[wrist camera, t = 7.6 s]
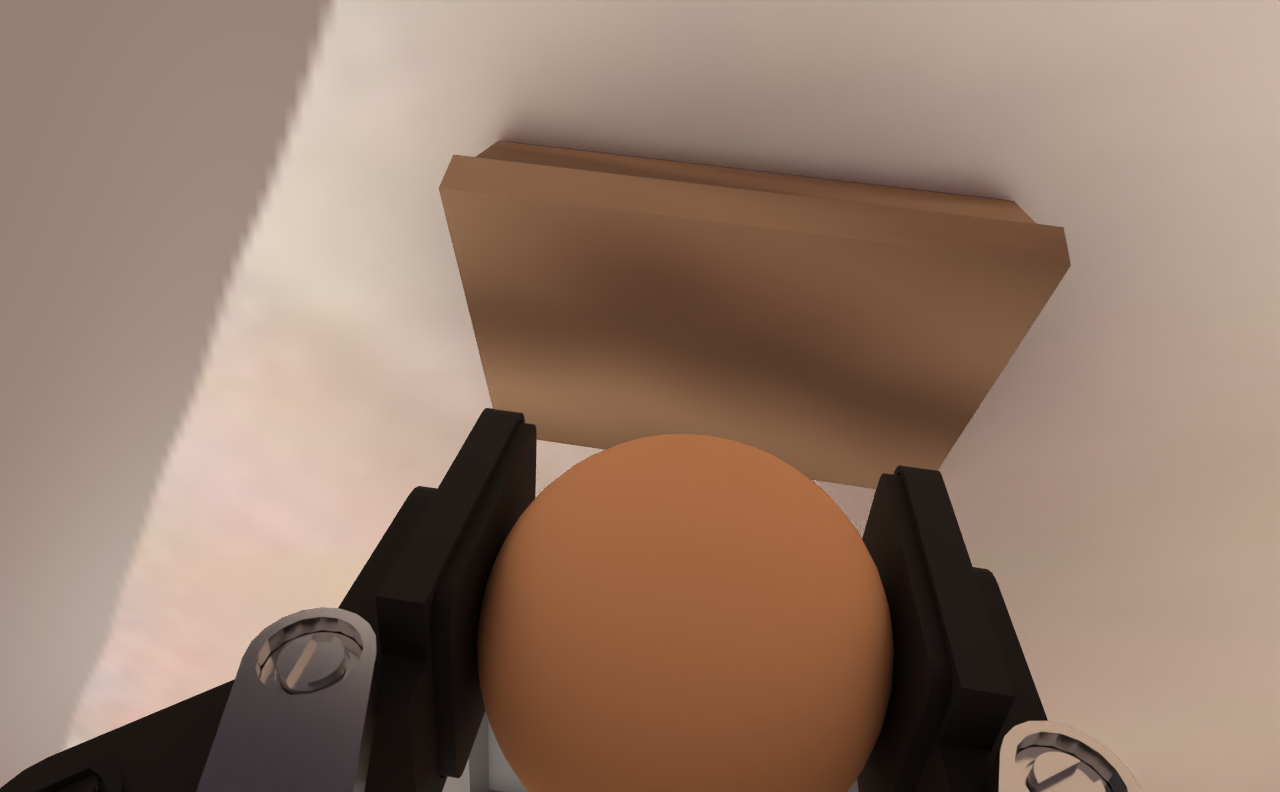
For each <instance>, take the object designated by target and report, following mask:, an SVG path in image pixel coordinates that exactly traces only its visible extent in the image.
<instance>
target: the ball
mask: <svg viewBox="0 0 1280 792" xmlns="http://www.w3.org/2000/svg"><path fill="white" fill-rule="evenodd" d="M477 658H478V673H479V681H480V687H481V692H482V697H483V701H484V706H485V709H486V713H487V716H488V720H489V723H490V725H491V728H492V730H493V733H494V735H495V737H496V740H497V742H498V744H499V747H500V749H501V751H502V753H503V755H504V757H505V759H506V760H507V762H508V763H509V765H510V766H511V768H512V769H513V771H514V772H515V774H516V776H517V777H518V778H519V780H520V781H521V783H522V784H523V786H524V787H525V789H526V790H527V791H528V792H847V791H848V790H849V788H850V787H851V786H852V784H853V783H854V781H855V780H856V779H857V777H858V776H859V774H860V773H861V771H862V770H863V769H864V767H865V765H866V762H867V760H868V758H869V756H870V754H871V752H872V750H873V748H874V746H875V744H876V741H877V739H878V737H879V735H880V733H881V730H882V726H883V722H884V719H885V715H886V711H887V707H888V703H889V699H890V695H891V690H892V676H893V661H894V642H893V632H892V624H891V616H890V609H889V605H888V601H887V598H886V595H885V591H884V588H883V585H882V582H881V579H880V575H879V572H878V569H877V567H876V565H875V563H874V561H873V559H872V557H871V555H870V553H869V552H868V550H867V548H866V546H865V544H864V542H863V540H862V538H861V536H860V534H859V533H858V531H857V530H856V528H855V527H854V526H853V524H852V523H851V522H850V520H849V519H848V518H847V516H846V515H845V514H844V512H843V511H842V510H841V509H840V508H839V506H838V505H837V504H836V503H835V502H834V501H833V500H832V499H831V498H830V497H829V496H828V495H827V494H826V493H825V492H824V491H823V490H822V489H821V488H820V487H819V486H818V485H816V484H815V483H814V482H813V481H811V480H810V479H809V478H807V477H806V476H805V475H804V474H802V473H801V472H799V471H798V470H797V469H795V468H794V467H792V466H790V465H789V464H787V463H785V462H784V461H782V460H780V459H779V458H777V457H775V456H773V455H771V454H769V453H767V452H764V451H762V450H760V449H758V448H755V447H752V446H749V445H746V444H743V443H740V442H737V441H733V440H729V439H724V438H719V437H713V436H706V435H694V434H667V435H658V436H651V437H644V438H640V439H636V440H632V441H628V442H625V443H621V444H619V445H616V446H614V447H611V448H609V449H606V450H604V451H602V452H599V453H597V454H594V455H592V456H590V457H589V458H587V459H585V460H583V461H581V462H580V463H578V464H576V465H574V466H573V467H572V468H570V469H569V470H568V471H566V472H565V473H564V474H563V475H561V476H560V477H559V478H557V479H556V480H555V481H554V482H552V483H551V484H550V485H548V486H547V487H546V488H545V489H544V490H543V491H542V492H541V493H540V494H539V495H538V496H537V497H536V498H535V499H534V500H533V501H532V503H531V504H530V505H529V506H528V507H527V509H526V510H525V511H524V512H523V513H522V515H521V516H520V517H519V519H518V520H517V522H516V523H515V525H514V526H513V528H512V529H511V531H510V532H509V534H508V536H507V537H506V539H505V541H504V543H503V545H502V547H501V549H500V551H499V553H498V555H497V557H496V560H495V562H494V564H493V566H492V569H491V572H490V575H489V578H488V581H487V584H486V588H485V592H484V598H483V603H482V608H481V613H480V618H479V624H478V638H477Z"/></svg>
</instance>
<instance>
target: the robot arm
mask: <svg viewBox="0 0 1280 792" xmlns="http://www.w3.org/2000/svg"><path fill="white" fill-rule="evenodd" d="M536 439H537V430H536V425H535V424H528V423H525V418H524V415H523V413H519V412H512V411H505V410H497V409H490V408H486V409H484V411H483V412H482V414H481V415H480V417H479V419H478V420H477V422H476V424H475V426H474V427H473V429H472V431H471V432H470V434H469V436H468V438H467V439H466V441H465V443H464V444H463V446H462V448H461V450H460V451H459V453H458V455H457V456H456V458H455V460H454V462H453V463H452V465H451V467H450V468H449V470H448V472H447V474H446V475H445V477H444V479H443V480H442V482H441V484H440V486H439V487H438V489H436V488H429V487H422V486H419V487H416V488H414V490H413V491H412V492H411V493H410V494H409V496H408V498H407V499H406V501H405V502H404V504H403V506H402V507H401V509H400V510H399V512H398V514H397V515H396V517H395V518H394V520H393V522H392V523H391V525H390V526H389V528H388V529H387V531H386V533H385V534H384V536H383V537H382V539H381V541H380V542H379V544H378V545H377V547H376V549H375V550H374V552H373V553H372V555H371V557H370V558H369V560H368V561H367V563H366V565H365V566H364V568H363V569H362V571H361V573H360V574H359V576H358V577H357V579H356V580H355V582H354V584H353V585H352V587H351V588H350V590H349V592H348V593H347V595H346V596H345V598H344V600H343V601H342V603H341V604H340V606H339V608H338V609H337V608H315V609H309V610H302V611H299V612H297V613H294V614H291V615H288V616H286V617H283V618H281V619H279V620H278V621H276V622H275V623H273V624H271V625H270V626H268V627H266V628H265V629H264V630H263V631H262V632H261V633H260V634H259V635H258V636H257V637H256V638H255V639H254V640H253V641H252V642H251V643H250V645H249V647H248V648H247V650H246V652H245V654H244V656H243V657H242V660H241V663H240V666H239V669H238V672H237V675H236V678H235V680H232V681H230V682H227V683H225V684H223V685H220V686H218V687H215V688H213V689H211V690H208V691H206V692H203V693H201V694H199V695H196V696H194V697H191V698H189V699H187V700H184V701H182V702H179V703H177V704H175V705H172V706H170V707H167V708H165V709H163V710H160V711H158V712H155V713H153V714H151V715H148V716H146V717H143V718H141V719H139V720H136V721H134V722H132V723H129V724H127V725H124V726H122V727H120V728H117V729H115V730H112V731H110V732H108V733H105V734H103V735H100V736H98V737H96V738H93V739H91V740H88V741H86V742H84V743H81V744H79V745H76V746H74V747H72V748H69V749H67V750H64V751H62V752H60V753H57V754H55V755H53V756H50V757H48V758H46V759H44V760H42V761H41V762H39V763H37V764H35V765H33V766H31V767H29V768H27V769H25V770H24V771H22V772H21V773H20V774H18V775H17V776H16V777H15V778H13V779H12V780H10V781H9V782H8V783H7V784H5V785H4V786H3V787H1V788H0V792H442V791H443V788H444V785H445V782H446V780H447V777H453V778H460V777H461V776H462V774H463V772H464V769H465V767H466V764H467V761H468V758H469V756H470V753H471V750H472V747H473V744H474V741H475V739H476V736H477V733H478V730H479V727H480V725H481V722H482V719H483V716H484V713H485V710H486V709H485V706H484V701H483V697H482V692H481V687H480V681H479V673H478V658H477V638H478V624H479V618H480V613H481V608H482V603H483V598H484V592H485V588H486V584H487V581H488V578H489V575H490V572H491V569H492V566H493V564H494V562H495V560H496V557H497V555H498V553H499V551H500V549H501V547H502V545H503V543H504V541H505V539H506V537H507V536H508V534H509V532H510V531H511V529H512V528H513V526H514V525H515V523H516V522H517V520H518V519H519V517H520V516H521V515H522V513H523V512H524V511H525V510H526V509H527V507H528V506H529V505H530V504H531V503H532V501H533V500H534V499H535V485H536ZM862 540H863V542H864V544H865V546H866V548H867V550H868V552H869V553H870V555H871V557H872V559H873V561H874V563H875V565H876V567H877V569H878V572H879V575H880V579H881V582H882V585H883V588H884V591H885V595H886V598H887V601H888V605H889V609H890V616H891V624H892V632H893V642H894V661H893V676H892V690H891V695H890V699H889V703H888V707H887V711H886V715H885V719H884V722H883V726H882V730H881V733H880V735H879V737H878V739H877V741H876V744H875V746H874V748H873V750H872V752H871V754H870V756H869V758H868V760H867V762H866V765H865V767H864V769H863V770H862V771H861V773H860V774H859V776H858V777H857V782H858V791H859V792H1142V790H1141V787H1140V785H1139V784H1138V782H1137V781H1136V779H1135V778H1134V776H1133V775H1132V773H1131V772H1130V770H1129V768H1128V767H1127V766H1126V765H1125V764H1124V763H1123V762H1122V761H1121V760H1120V759H1119V758H1118V757H1117V756H1116V755H1115V754H1114V753H1113V752H1112V751H1111V750H1110V749H1108V748H1107V747H1105V746H1104V745H1103V744H1101V743H1100V742H1098V741H1097V740H1095V739H1094V738H1093V737H1091V736H1089V735H1087V734H1085V733H1083V732H1081V731H1079V730H1077V729H1074V728H1072V727H1070V726H1067V725H1063V724H1059V723H1055V722H1051V721H1048V720H1047V717H1046V714H1045V712H1044V709H1043V706H1042V703H1041V701H1040V698H1039V695H1038V692H1037V690H1036V687H1035V684H1034V682H1033V679H1032V676H1031V673H1030V671H1029V668H1028V665H1027V662H1026V660H1025V657H1024V654H1023V652H1022V649H1021V646H1020V643H1019V641H1018V638H1017V635H1016V632H1015V630H1014V627H1013V624H1012V622H1011V619H1010V616H1009V613H1008V611H1007V608H1006V605H1005V602H1004V600H1003V597H1002V594H1001V592H1000V589H999V586H998V583H997V581H996V579H995V577H994V575H993V573H992V572H990V571H989V570H988V569H982V568H975V567H972V564H971V561H970V558H969V555H968V552H967V549H966V546H965V543H964V540H963V537H962V534H961V531H960V528H959V525H958V522H957V519H956V516H955V513H954V510H953V507H952V505H951V502H950V499H949V496H948V493H947V490H946V487H945V484H944V481H943V478H942V475H941V473H940V472H939V471H937V470H930V469H923V468H915V467H908V466H901V465H899V466H898V467H897V468H896V469H895V471H894V474H886V473H883V474H882V475H881V477H880V479H879V482H878V485H877V489H876V492H875V496H874V499H873V503H872V506H871V510H870V513H869V517H868V521H867V524H866V528H865V531H864V535H863V538H862Z"/></svg>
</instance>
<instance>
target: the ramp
mask: <svg viewBox="0 0 1280 792" xmlns="http://www.w3.org/2000/svg"><path fill="white" fill-rule="evenodd" d="M439 190H440V194H441V198H442V202H443V206H444V211H445V215H446V219H447V223H448V227H449V231H450V235H451V239H452V243H453V247H454V251H455V255H456V259H457V263H458V267H459V272H460V276H461V280H462V284H463V288H464V292H465V296H466V300H467V304H468V308H469V312H470V316H471V320H472V324H473V329H474V333H475V337H476V341H477V345H478V349H479V353H480V357H481V361H482V365H483V369H484V373H485V377H486V381H487V385H488V390H489V394H490V398H491V402H492V406H493V409H497V410H505V411H512V412H519V413H523V415H524V418H525V423H528V424H535V425H536V430H537V440H544V441H551V442H558V443H564V444H571V445H578V446H585V447H592V448H599V449H609V448H611V447H614V446H616V445H619V444H621V443H625V442H628V441H632V440H636V439H640V438H644V437H651V436H658V435H667V434H694V435H706V436H713V437H719V438H724V439H729V440H733V441H737V442H740V443H743V444H746V445H749V446H752V447H755V448H758V449H760V450H762V451H764V452H767V453H769V454H771V455H773V456H775V457H777V458H779V459H780V460H782V461H784V462H785V463H787V464H789V465H790V466H792V467H794V468H795V469H797V470H798V471H799V472H801V473H802V474H804V475H805V476H806V477H807V478H809V479H811V480H818V481H825V482H832V483H839V484H846V485H853V486H859V487H866V488H873V489H877V485H878V482H879V479H880V477H881V475H882V474H883V473H886V474H894V471H895V469H896V468H897V467H898V466H899V465H901V466H908V467H915V468H923V469H930V470H938V468H939V467H940V465H941V464H942V462H943V461H944V459H945V458H946V456H947V455H948V453H949V451H950V450H951V448H952V447H953V445H954V444H955V442H956V441H957V439H958V438H959V436H960V435H961V433H962V432H963V430H964V428H965V427H966V425H967V424H968V422H969V421H970V419H971V418H972V416H973V415H974V413H975V412H976V410H977V408H978V407H979V405H980V404H981V402H982V401H983V399H984V398H985V396H986V395H987V393H988V392H989V390H990V389H991V387H992V385H993V384H994V382H995V381H996V379H997V378H998V376H999V375H1000V373H1001V372H1002V370H1003V369H1004V367H1005V365H1006V364H1007V362H1008V361H1009V359H1010V358H1011V356H1012V355H1013V353H1014V352H1015V350H1016V349H1017V347H1018V346H1019V344H1020V342H1021V341H1022V339H1023V338H1024V336H1025V335H1026V333H1027V332H1028V330H1029V329H1030V327H1031V326H1032V324H1033V323H1034V321H1035V319H1036V318H1037V316H1038V315H1039V313H1040V312H1041V310H1042V309H1043V307H1044V306H1045V304H1046V303H1047V301H1048V299H1049V298H1050V296H1051V295H1052V293H1053V292H1054V290H1055V289H1056V287H1057V286H1058V284H1059V283H1060V281H1061V280H1062V278H1063V276H1064V275H1065V273H1066V272H1067V270H1068V269H1069V267H1070V266H1071V264H1070V259H1069V254H1068V249H1067V243H1066V238H1065V233H1064V228H1063V227H1056V226H1048V225H1039V224H1036V223H1035V222H1034V221H1033V220H1032V219H1031V218H1030V217H1029V216H1028V215H1027V214H1026V213H1025V212H1024V211H1023V210H1022V209H1021V208H1020V207H1019V206H1018V205H1017V204H1016V203H1015V202H1014V201H1007V200H999V199H990V198H982V197H973V196H965V195H956V194H948V193H939V192H931V191H922V190H914V189H905V188H897V187H888V186H879V185H871V184H862V183H854V182H845V181H837V180H828V179H820V178H811V177H803V176H794V175H786V174H777V173H769V172H760V171H752V170H743V169H735V168H726V167H717V166H709V165H700V164H692V163H683V162H675V161H666V160H658V159H649V158H641V157H632V156H624V155H615V154H607V153H598V152H590V151H581V150H572V149H564V148H555V147H547V146H538V145H530V144H521V143H513V142H504V141H497V142H496V143H495V144H493V145H492V146H490V147H489V148H488V149H486V150H485V151H483V152H482V153H481V154H479V155H478V156H476V157H468V156H460V155H453V157H452V159H451V162H450V164H449V166H448V169H447V171H446V173H445V175H444V178H443V180H442V182H441V184H440V187H439Z"/></svg>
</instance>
